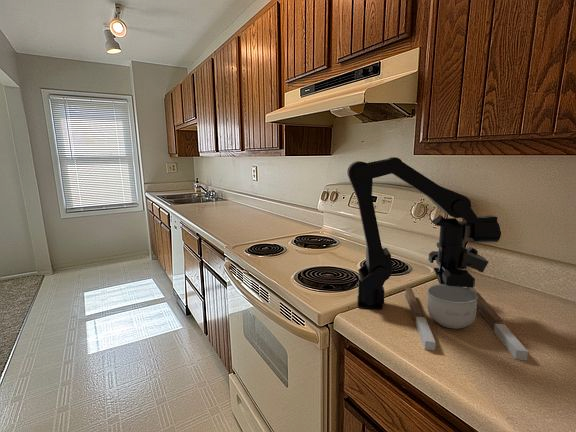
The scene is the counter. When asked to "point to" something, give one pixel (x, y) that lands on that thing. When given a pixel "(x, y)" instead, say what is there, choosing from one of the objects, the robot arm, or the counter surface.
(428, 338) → the bar
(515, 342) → the marker right
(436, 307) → the teacup
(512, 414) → the counter surface
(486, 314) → the cradle
